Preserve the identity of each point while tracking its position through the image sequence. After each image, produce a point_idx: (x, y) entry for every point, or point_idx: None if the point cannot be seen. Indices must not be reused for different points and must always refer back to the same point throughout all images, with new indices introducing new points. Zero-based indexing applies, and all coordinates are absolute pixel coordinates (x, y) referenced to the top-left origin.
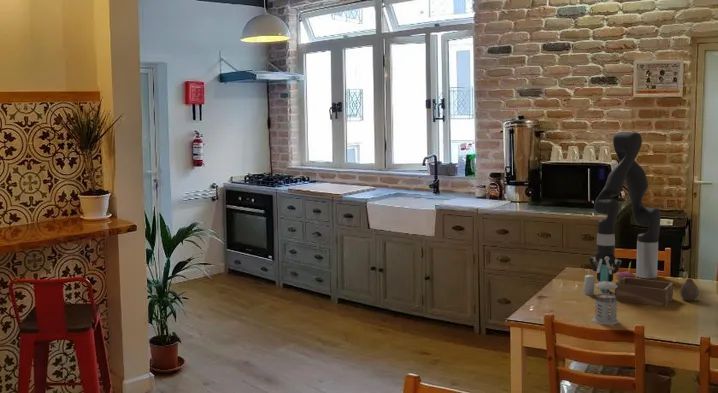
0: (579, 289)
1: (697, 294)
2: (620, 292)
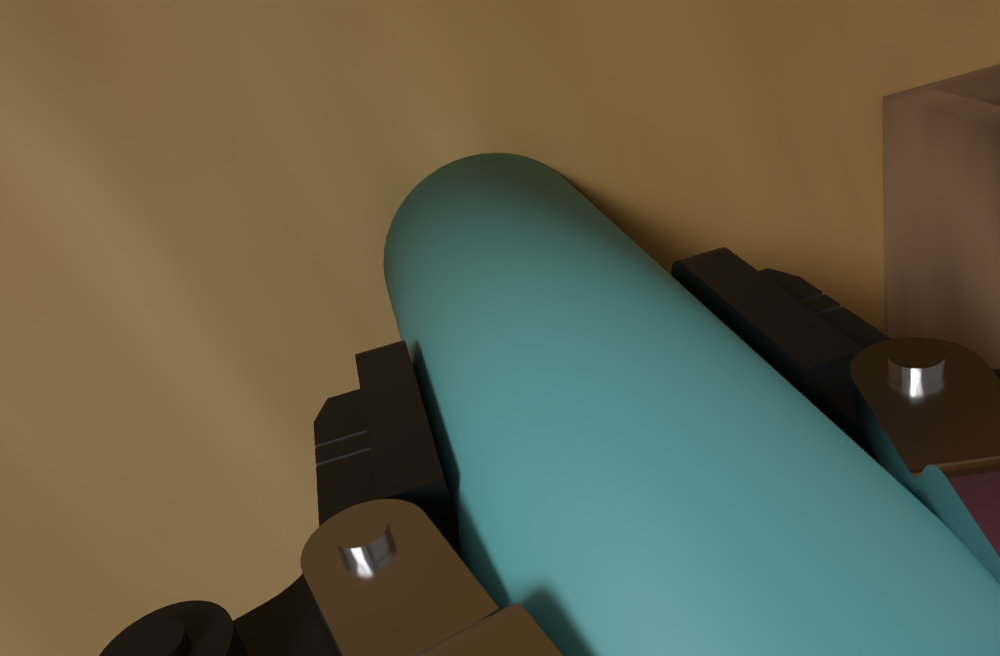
0: (29, 567)
1: None
2: None
